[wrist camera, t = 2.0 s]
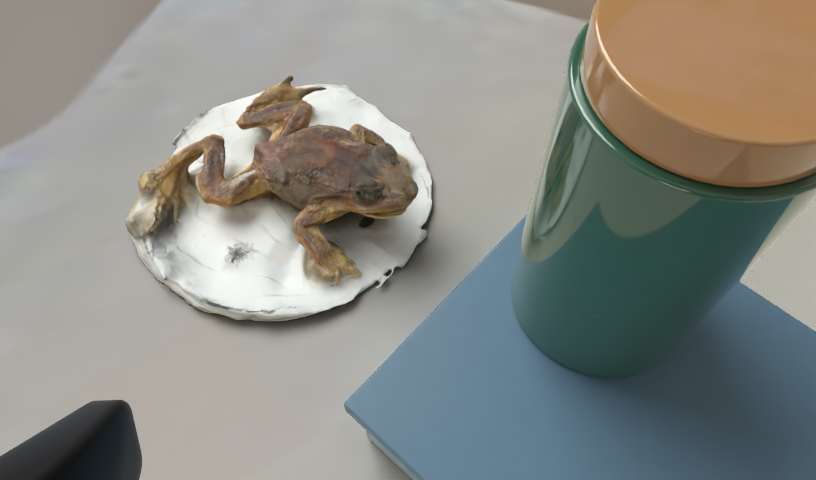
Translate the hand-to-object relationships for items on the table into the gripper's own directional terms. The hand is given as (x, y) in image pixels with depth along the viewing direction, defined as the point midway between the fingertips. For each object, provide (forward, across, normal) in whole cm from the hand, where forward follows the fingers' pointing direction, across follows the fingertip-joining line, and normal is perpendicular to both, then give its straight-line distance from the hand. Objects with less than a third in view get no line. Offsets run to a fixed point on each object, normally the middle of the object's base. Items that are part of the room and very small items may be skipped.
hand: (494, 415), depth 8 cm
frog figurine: (+19, +5, +3) cm, 20 cm away
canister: (+11, -5, +4) cm, 13 cm away
